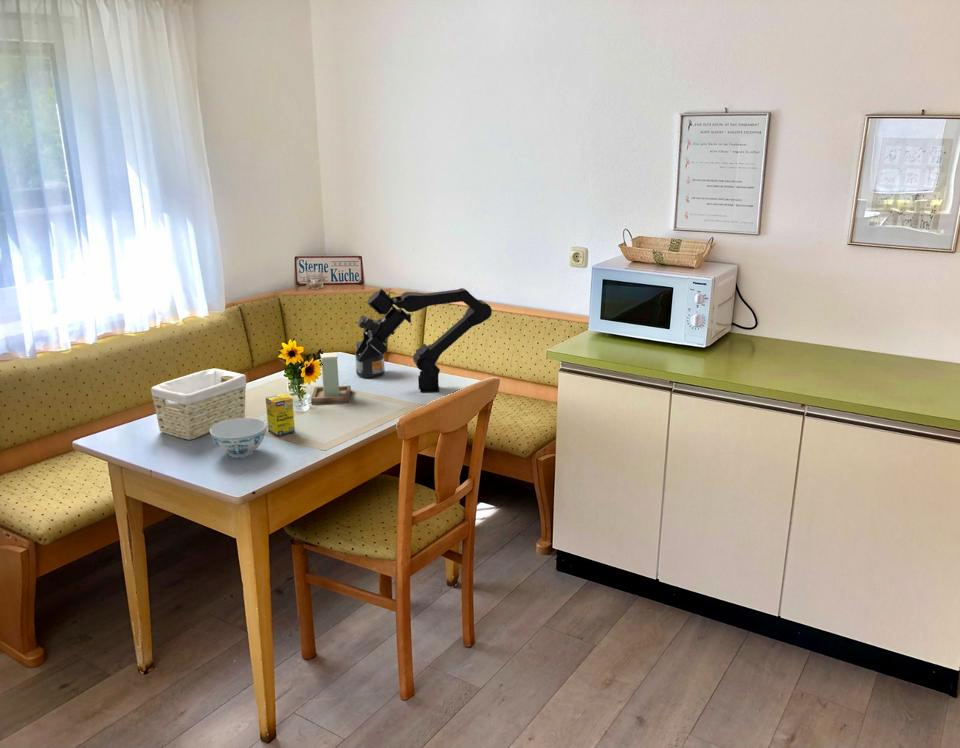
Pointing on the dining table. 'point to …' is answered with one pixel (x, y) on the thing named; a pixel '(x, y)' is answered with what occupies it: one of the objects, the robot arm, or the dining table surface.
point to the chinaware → (238, 435)
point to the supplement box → (280, 414)
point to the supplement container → (370, 366)
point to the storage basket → (199, 402)
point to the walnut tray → (342, 398)
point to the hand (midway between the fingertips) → (357, 357)
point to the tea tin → (330, 374)
